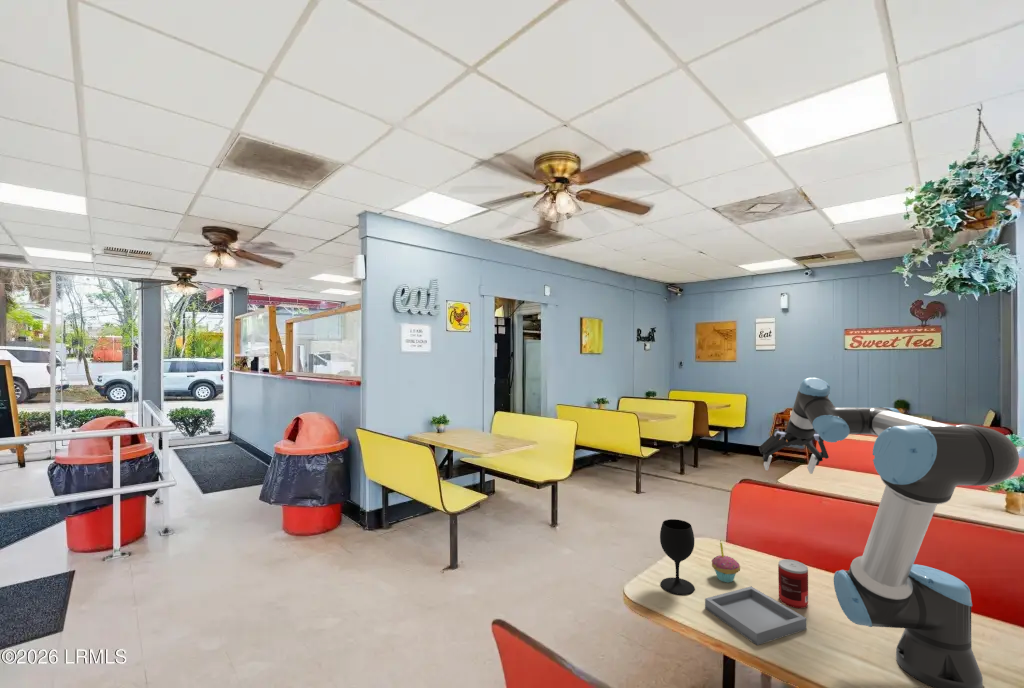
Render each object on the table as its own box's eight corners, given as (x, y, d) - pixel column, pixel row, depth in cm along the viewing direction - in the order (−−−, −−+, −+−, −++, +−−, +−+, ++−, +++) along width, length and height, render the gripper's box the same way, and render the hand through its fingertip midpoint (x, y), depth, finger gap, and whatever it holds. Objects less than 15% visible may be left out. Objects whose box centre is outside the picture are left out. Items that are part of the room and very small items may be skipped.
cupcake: (705, 575, 158) (705, 540, 158) (724, 570, 161) (723, 535, 161) (727, 587, 150) (727, 550, 150) (746, 581, 153) (745, 545, 153)
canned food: (800, 595, 145) (799, 559, 145) (813, 609, 137) (813, 572, 137) (773, 594, 146) (773, 558, 146) (786, 608, 138) (785, 571, 138)
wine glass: (697, 583, 153) (696, 521, 153) (691, 598, 144) (691, 533, 144) (664, 575, 158) (663, 516, 158) (657, 590, 149) (656, 526, 149)
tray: (806, 629, 128) (806, 618, 128) (756, 645, 122) (756, 633, 122) (751, 596, 145) (751, 586, 145) (705, 608, 138) (705, 598, 138)
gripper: (843, 416, 148) (824, 463, 160) (757, 411, 153) (745, 457, 165) (852, 432, 142) (832, 480, 154) (763, 427, 147) (750, 474, 159)
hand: (787, 469), depth 159 cm, fingers open, 13 cm apart
